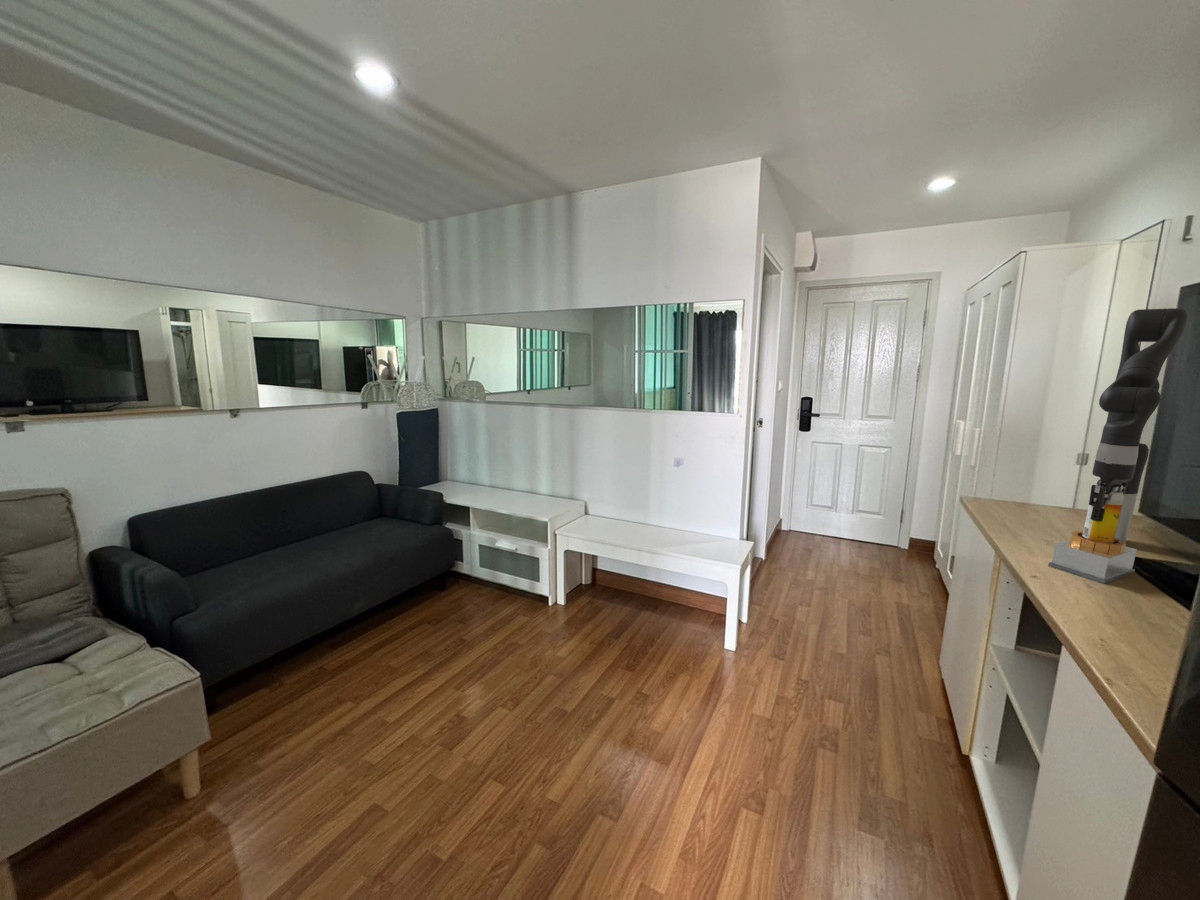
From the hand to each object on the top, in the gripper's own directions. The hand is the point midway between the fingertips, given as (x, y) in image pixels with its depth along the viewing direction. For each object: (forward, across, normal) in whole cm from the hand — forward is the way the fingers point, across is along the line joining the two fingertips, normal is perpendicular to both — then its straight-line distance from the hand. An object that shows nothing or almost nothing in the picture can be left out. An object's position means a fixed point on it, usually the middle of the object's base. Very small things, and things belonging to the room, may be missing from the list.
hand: (1102, 518), depth 129 cm
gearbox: (+15, -1, 0) cm, 15 cm away
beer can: (+7, 0, 0) cm, 7 cm away
